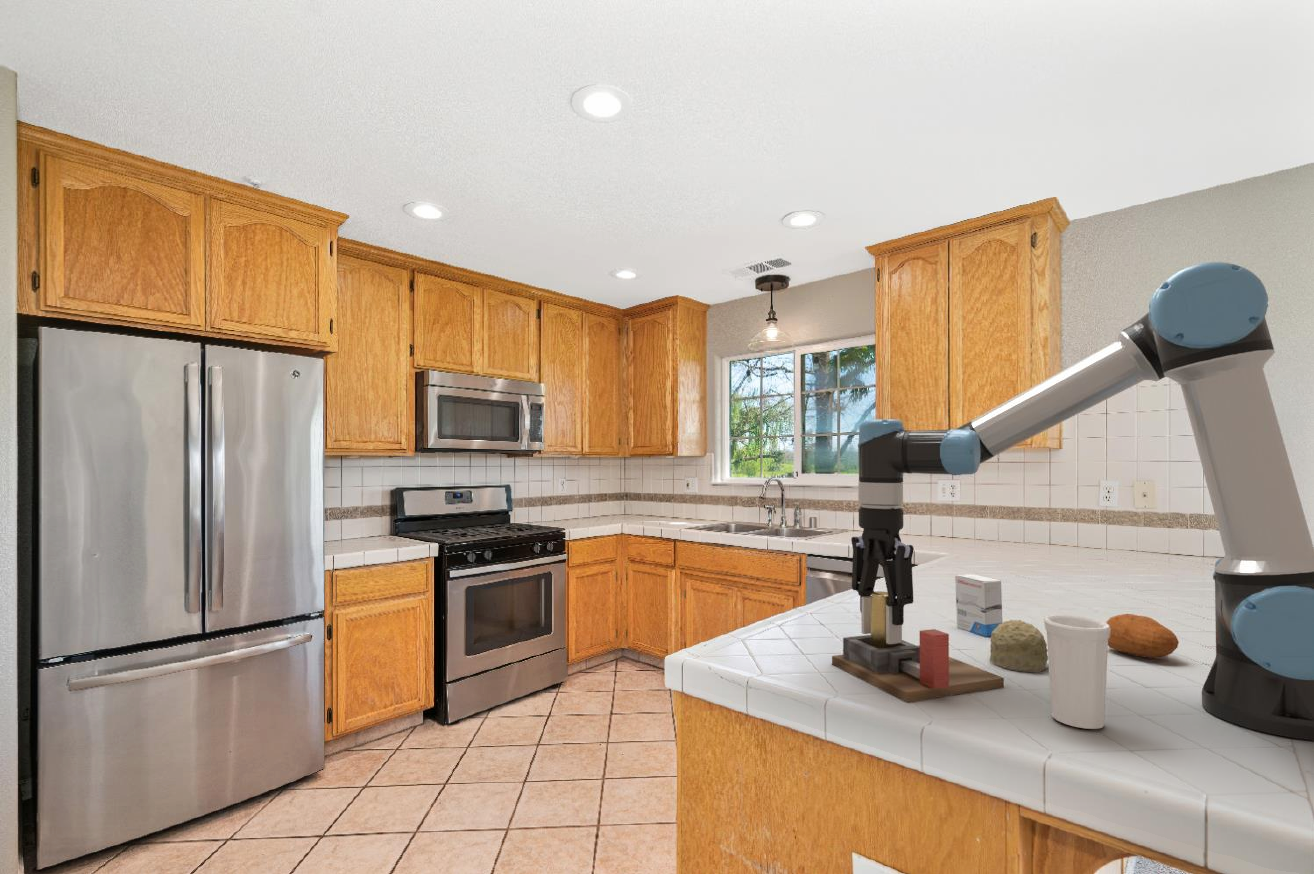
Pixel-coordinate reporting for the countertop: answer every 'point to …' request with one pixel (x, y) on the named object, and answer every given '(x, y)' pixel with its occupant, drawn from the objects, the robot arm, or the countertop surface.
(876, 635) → the upright brass rod
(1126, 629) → the potato
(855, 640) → the mount
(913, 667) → the pin
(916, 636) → the countertop surface
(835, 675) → the countertop surface
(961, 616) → the ink box
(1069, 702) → the cup
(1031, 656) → the decorative object
